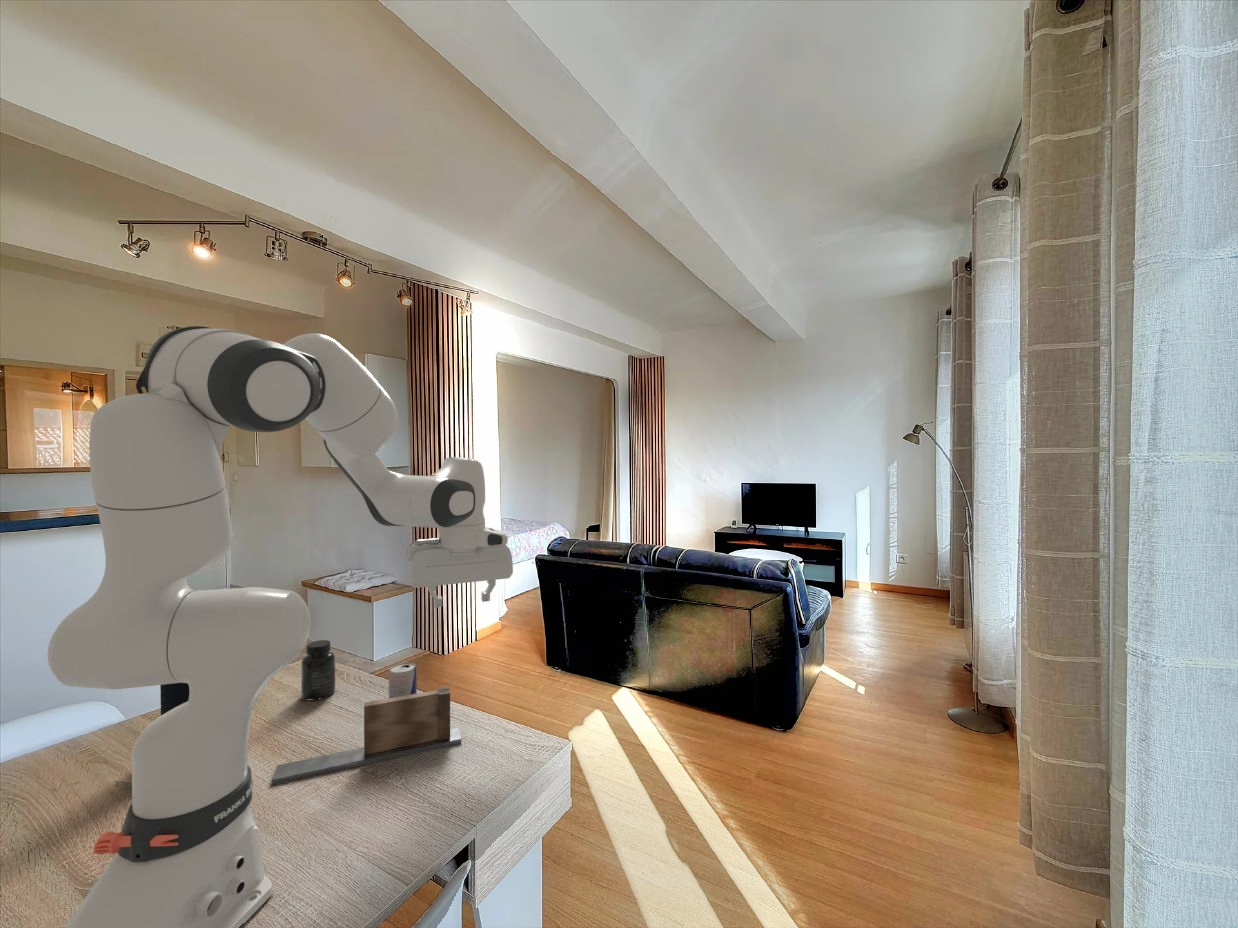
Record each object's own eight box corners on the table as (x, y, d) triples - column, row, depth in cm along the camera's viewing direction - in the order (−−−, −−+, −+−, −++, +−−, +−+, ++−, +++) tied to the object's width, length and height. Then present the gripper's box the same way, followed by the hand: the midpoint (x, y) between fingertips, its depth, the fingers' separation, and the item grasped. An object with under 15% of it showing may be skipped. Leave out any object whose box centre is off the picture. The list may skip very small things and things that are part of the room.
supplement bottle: (302, 691, 119) (302, 641, 119) (335, 685, 122) (335, 636, 122) (300, 703, 113) (299, 651, 113) (334, 697, 116) (334, 645, 116)
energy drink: (421, 718, 107) (421, 662, 107) (408, 732, 102) (408, 673, 101) (397, 717, 107) (397, 661, 107) (383, 730, 102) (383, 672, 102)
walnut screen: (448, 730, 100) (448, 686, 100) (450, 738, 98) (450, 692, 97) (364, 748, 94) (364, 700, 94) (363, 757, 91) (363, 708, 91)
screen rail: (458, 731, 102) (458, 727, 102) (461, 743, 98) (461, 738, 98) (277, 770, 89) (277, 765, 89) (271, 784, 85) (271, 779, 85)
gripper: (408, 543, 95) (408, 615, 95) (515, 536, 104) (514, 602, 104) (406, 537, 100) (406, 605, 101) (508, 531, 109) (507, 593, 110)
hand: (462, 603), depth 103 cm, fingers open, 8 cm apart
